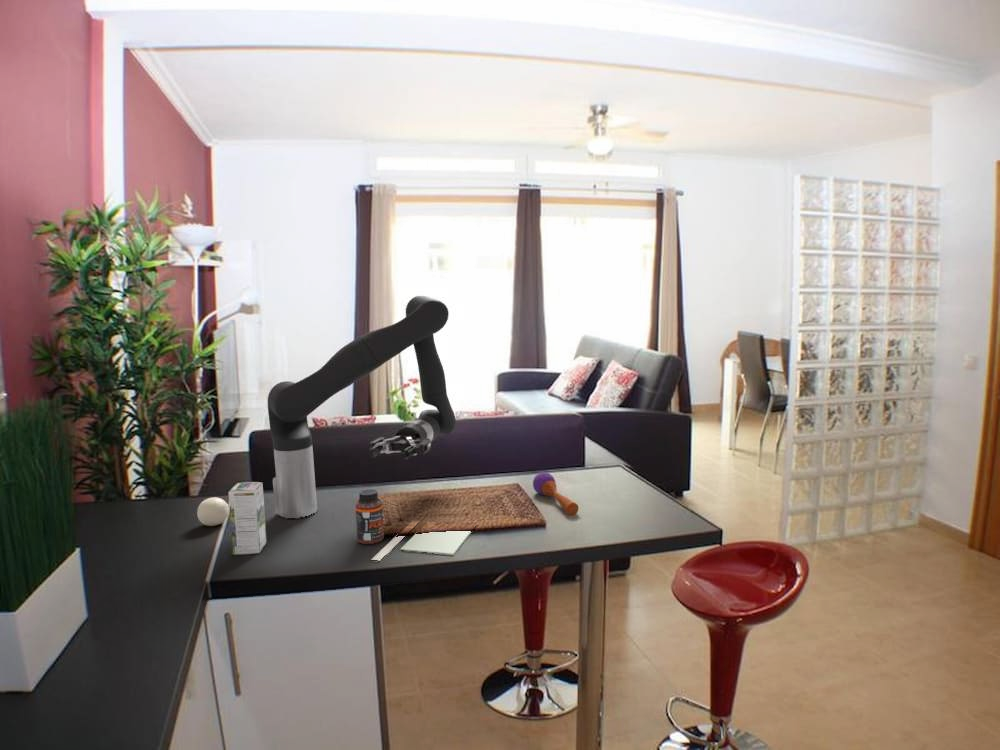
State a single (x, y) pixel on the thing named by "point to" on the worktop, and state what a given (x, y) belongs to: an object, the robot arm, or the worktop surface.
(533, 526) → the worktop surface
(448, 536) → the mat
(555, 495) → the purple and orange maraca
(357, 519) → the supplement bottle
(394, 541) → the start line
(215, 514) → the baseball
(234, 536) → the syrup box
